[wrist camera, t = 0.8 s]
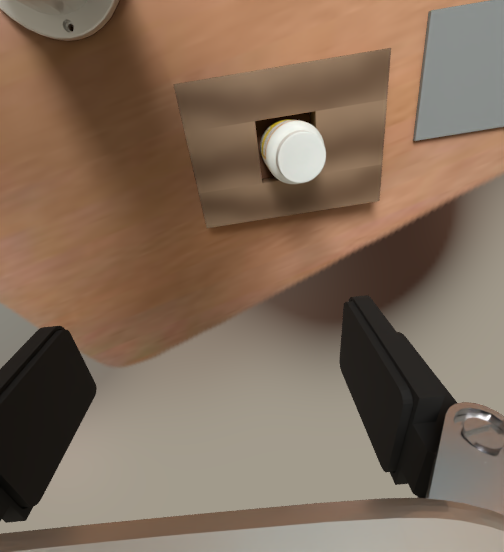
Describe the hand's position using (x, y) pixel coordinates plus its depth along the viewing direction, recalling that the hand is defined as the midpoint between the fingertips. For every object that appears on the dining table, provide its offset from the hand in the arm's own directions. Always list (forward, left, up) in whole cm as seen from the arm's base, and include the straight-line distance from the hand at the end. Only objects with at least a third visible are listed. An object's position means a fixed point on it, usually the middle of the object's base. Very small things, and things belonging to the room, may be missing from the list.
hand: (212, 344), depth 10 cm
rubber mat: (-7, +27, -27) cm, 39 cm away
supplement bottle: (-3, +7, -27) cm, 28 cm away
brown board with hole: (-3, +7, -27) cm, 28 cm away
